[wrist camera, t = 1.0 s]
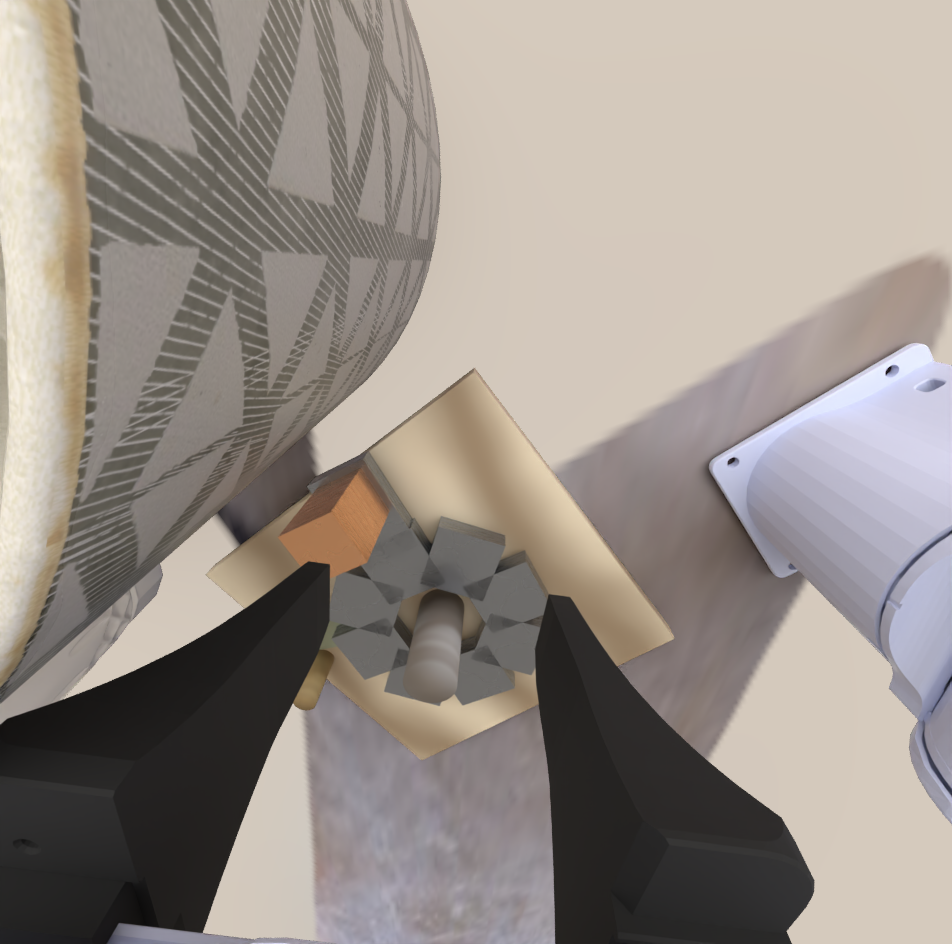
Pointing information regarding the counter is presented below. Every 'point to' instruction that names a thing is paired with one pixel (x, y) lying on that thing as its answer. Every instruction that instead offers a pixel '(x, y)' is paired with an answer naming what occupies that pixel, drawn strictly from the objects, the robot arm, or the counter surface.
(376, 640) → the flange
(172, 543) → the planter
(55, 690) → the white cup
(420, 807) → the counter surface
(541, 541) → the post board
